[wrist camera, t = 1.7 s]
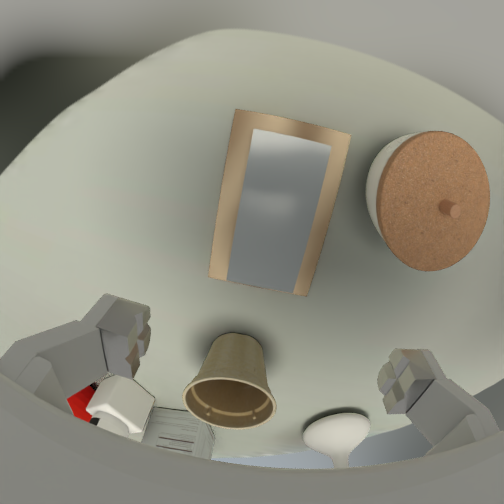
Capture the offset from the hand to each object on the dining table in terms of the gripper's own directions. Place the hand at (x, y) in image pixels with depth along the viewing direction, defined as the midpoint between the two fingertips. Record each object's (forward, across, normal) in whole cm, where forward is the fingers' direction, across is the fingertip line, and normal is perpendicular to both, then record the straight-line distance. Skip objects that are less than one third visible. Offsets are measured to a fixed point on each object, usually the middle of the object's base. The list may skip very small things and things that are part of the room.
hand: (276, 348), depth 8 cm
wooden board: (+18, 0, 0) cm, 19 cm away
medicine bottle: (+19, +16, +33) cm, 42 cm away
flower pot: (+19, 0, +18) cm, 26 cm away
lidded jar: (+19, -12, -5) cm, 23 cm away
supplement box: (+19, +6, +39) cm, 44 cm away
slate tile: (+18, 0, 0) cm, 18 cm away
